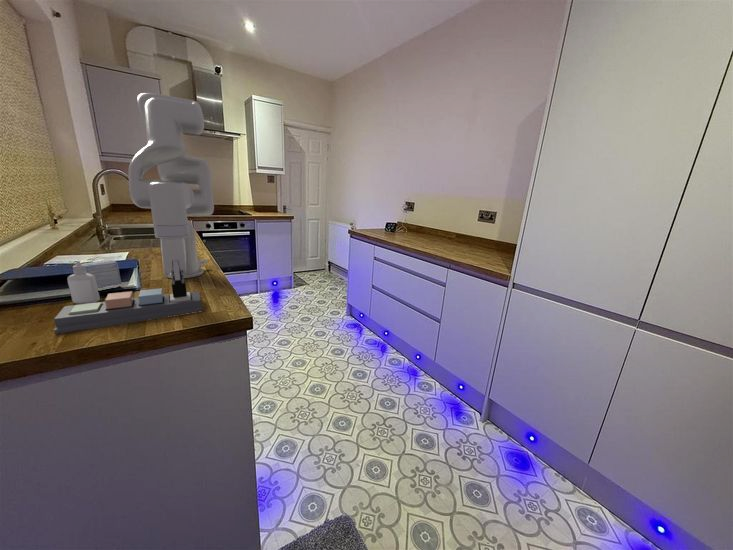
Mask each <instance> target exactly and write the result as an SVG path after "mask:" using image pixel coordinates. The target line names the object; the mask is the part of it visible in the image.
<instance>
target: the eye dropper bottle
mask: <svg viewBox="0 0 733 550" xmlns="http://www.w3.org/2000/svg"><path fill="white" fill-rule="evenodd" d="M82 264H83V263H81V261H80V260H75V264H74V265H73V266H72V271H73V273H72V274H70V275H68V276H67V279H66V280H67V284H68V289H69V293H70V295H71V300H72V303H73V304H75V305H80V304H88V303H97V302H100V300H101V297H100V293H99V292H98V287H97V283H96V279H95V276H94V275H92V274H89V273H86V268H85V265H82Z"/></svg>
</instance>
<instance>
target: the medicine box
mask: <svg viewBox="0 0 733 550" xmlns="http://www.w3.org/2000/svg"><path fill="white" fill-rule="evenodd" d="M81 264H82V265H85V268H86V273H89V274H92V275H94V276H95V279H96V283H97V287H98V288H103V287H106V286H111V285H118V284H121V285H122V281H121V275H120V269H119V263H118V262H117V261H115V260H113V259H105V260H99V261H92V262H91V261H90V262H85V263H81Z"/></svg>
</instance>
